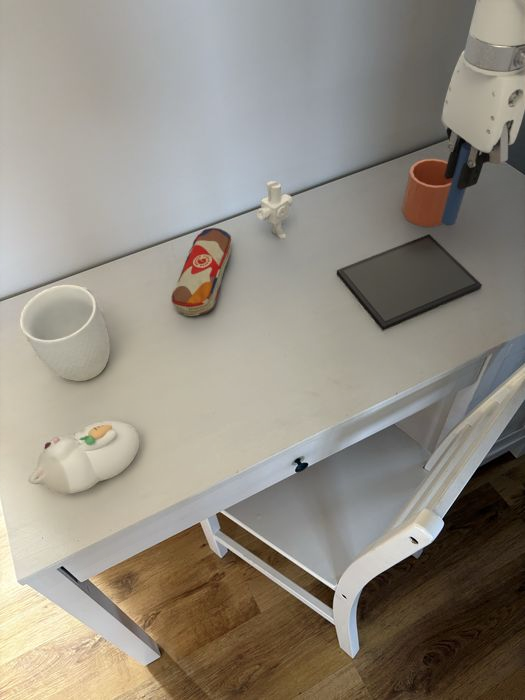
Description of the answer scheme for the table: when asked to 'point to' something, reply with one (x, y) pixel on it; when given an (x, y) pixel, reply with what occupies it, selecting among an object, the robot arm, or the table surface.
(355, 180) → the table surface
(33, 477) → the cat figurine
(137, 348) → the table surface
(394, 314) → the tablet
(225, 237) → the pencil case
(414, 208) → the pen cup
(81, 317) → the mug
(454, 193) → the stylus
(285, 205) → the toy robot
